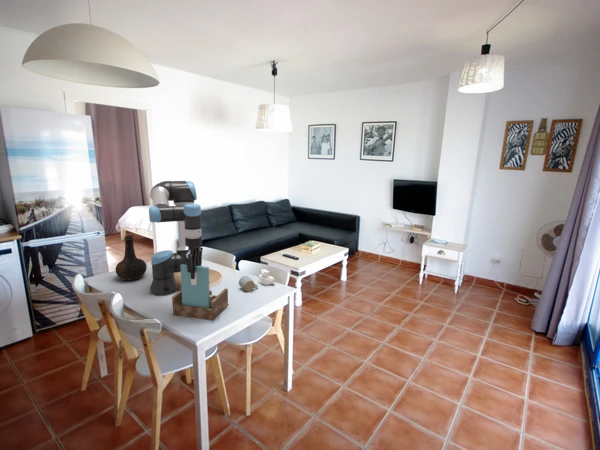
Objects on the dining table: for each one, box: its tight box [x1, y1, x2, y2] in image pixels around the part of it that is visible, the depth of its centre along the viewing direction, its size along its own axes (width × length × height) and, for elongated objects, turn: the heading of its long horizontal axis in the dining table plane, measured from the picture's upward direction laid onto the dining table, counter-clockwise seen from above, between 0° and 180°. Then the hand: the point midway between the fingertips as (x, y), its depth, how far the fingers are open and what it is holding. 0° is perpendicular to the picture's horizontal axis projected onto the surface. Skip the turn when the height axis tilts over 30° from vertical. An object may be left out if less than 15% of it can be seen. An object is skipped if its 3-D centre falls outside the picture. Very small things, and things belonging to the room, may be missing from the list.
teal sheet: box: [180, 264, 211, 309], centre depth 153 cm, size 14×2×24 cm, turn 79°
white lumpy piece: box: [257, 268, 276, 286], centre depth 199 cm, size 12×8×11 cm
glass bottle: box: [115, 234, 148, 281], centre depth 200 cm, size 18×18×28 cm
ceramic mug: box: [238, 275, 259, 292], centre depth 191 cm, size 11×8×8 cm
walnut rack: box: [171, 288, 230, 322], centre depth 161 cm, size 22×18×11 cm
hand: (195, 283), depth 153 cm, fingers closed on teal sheet, 2 cm apart
